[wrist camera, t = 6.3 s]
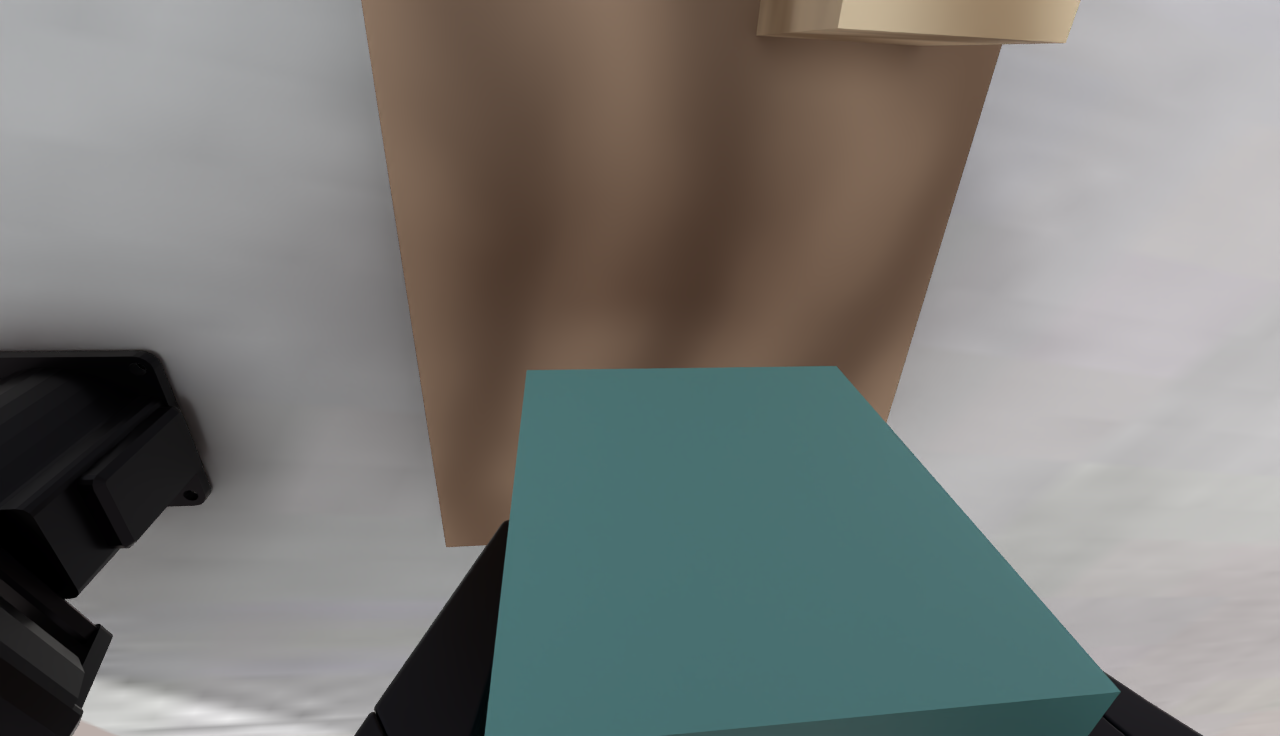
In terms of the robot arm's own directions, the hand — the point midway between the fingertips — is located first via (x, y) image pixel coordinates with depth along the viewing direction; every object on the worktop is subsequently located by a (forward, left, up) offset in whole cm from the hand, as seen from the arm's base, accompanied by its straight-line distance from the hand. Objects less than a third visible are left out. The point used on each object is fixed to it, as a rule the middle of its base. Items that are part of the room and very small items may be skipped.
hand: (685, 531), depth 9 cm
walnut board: (+2, +1, -12) cm, 13 cm away
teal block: (0, 0, -1) cm, 1 cm away
